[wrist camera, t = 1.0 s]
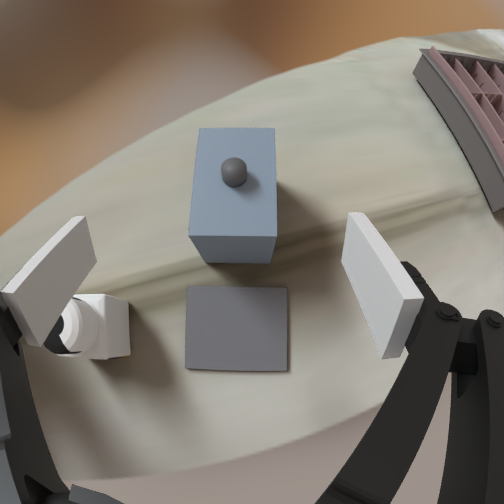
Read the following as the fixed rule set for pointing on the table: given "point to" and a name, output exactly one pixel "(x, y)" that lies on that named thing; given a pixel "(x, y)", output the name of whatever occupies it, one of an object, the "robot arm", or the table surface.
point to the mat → (236, 328)
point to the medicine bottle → (92, 328)
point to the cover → (234, 195)
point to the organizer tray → (470, 110)
